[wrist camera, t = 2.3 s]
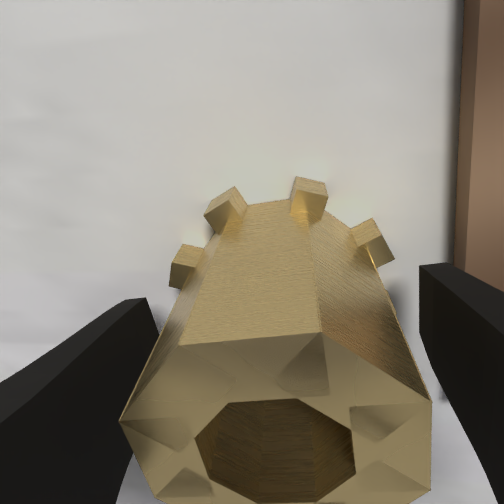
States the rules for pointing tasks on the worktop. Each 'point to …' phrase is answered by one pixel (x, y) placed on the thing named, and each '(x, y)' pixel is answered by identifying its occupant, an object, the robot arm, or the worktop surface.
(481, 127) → the carrier plate
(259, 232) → the gear
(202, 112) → the worktop surface
